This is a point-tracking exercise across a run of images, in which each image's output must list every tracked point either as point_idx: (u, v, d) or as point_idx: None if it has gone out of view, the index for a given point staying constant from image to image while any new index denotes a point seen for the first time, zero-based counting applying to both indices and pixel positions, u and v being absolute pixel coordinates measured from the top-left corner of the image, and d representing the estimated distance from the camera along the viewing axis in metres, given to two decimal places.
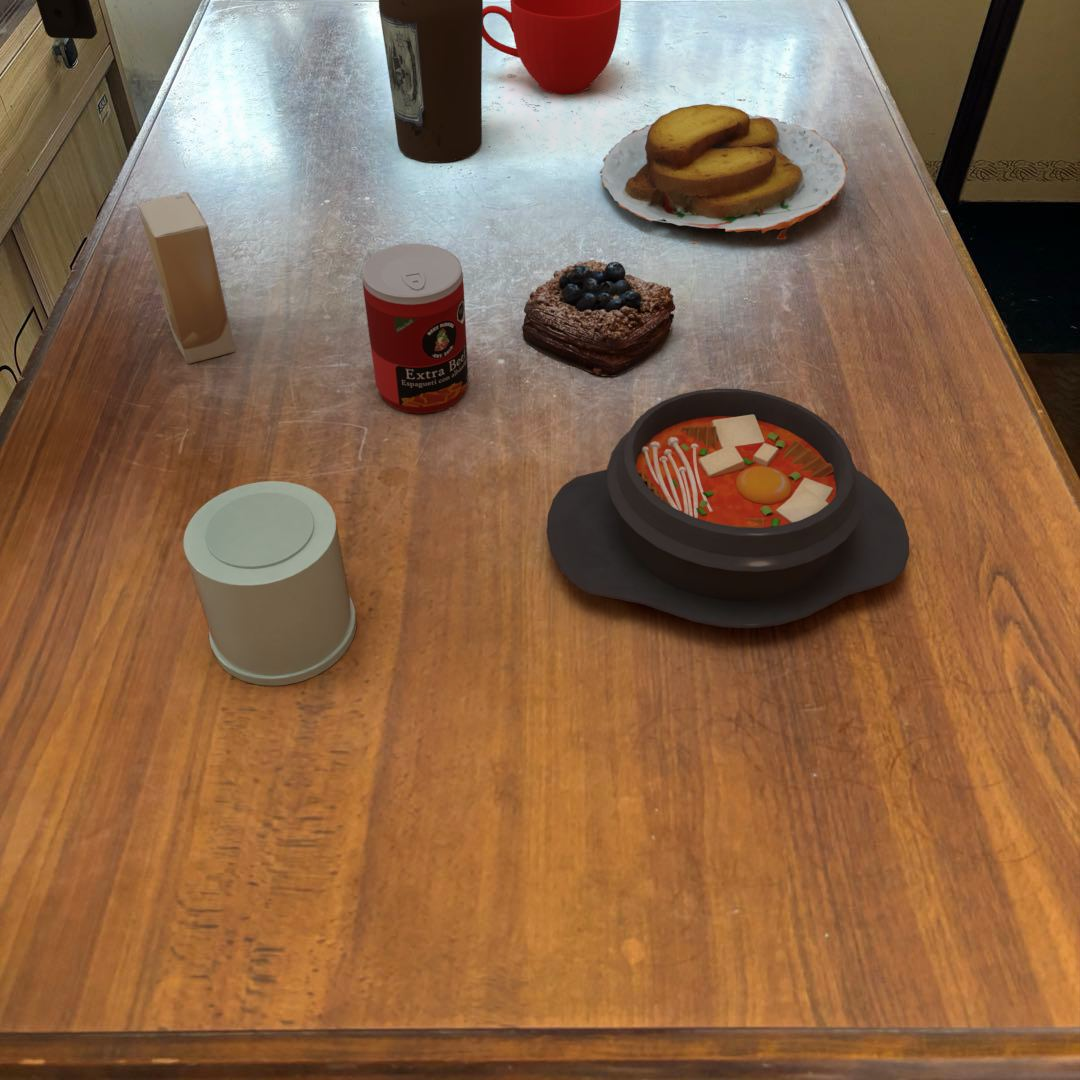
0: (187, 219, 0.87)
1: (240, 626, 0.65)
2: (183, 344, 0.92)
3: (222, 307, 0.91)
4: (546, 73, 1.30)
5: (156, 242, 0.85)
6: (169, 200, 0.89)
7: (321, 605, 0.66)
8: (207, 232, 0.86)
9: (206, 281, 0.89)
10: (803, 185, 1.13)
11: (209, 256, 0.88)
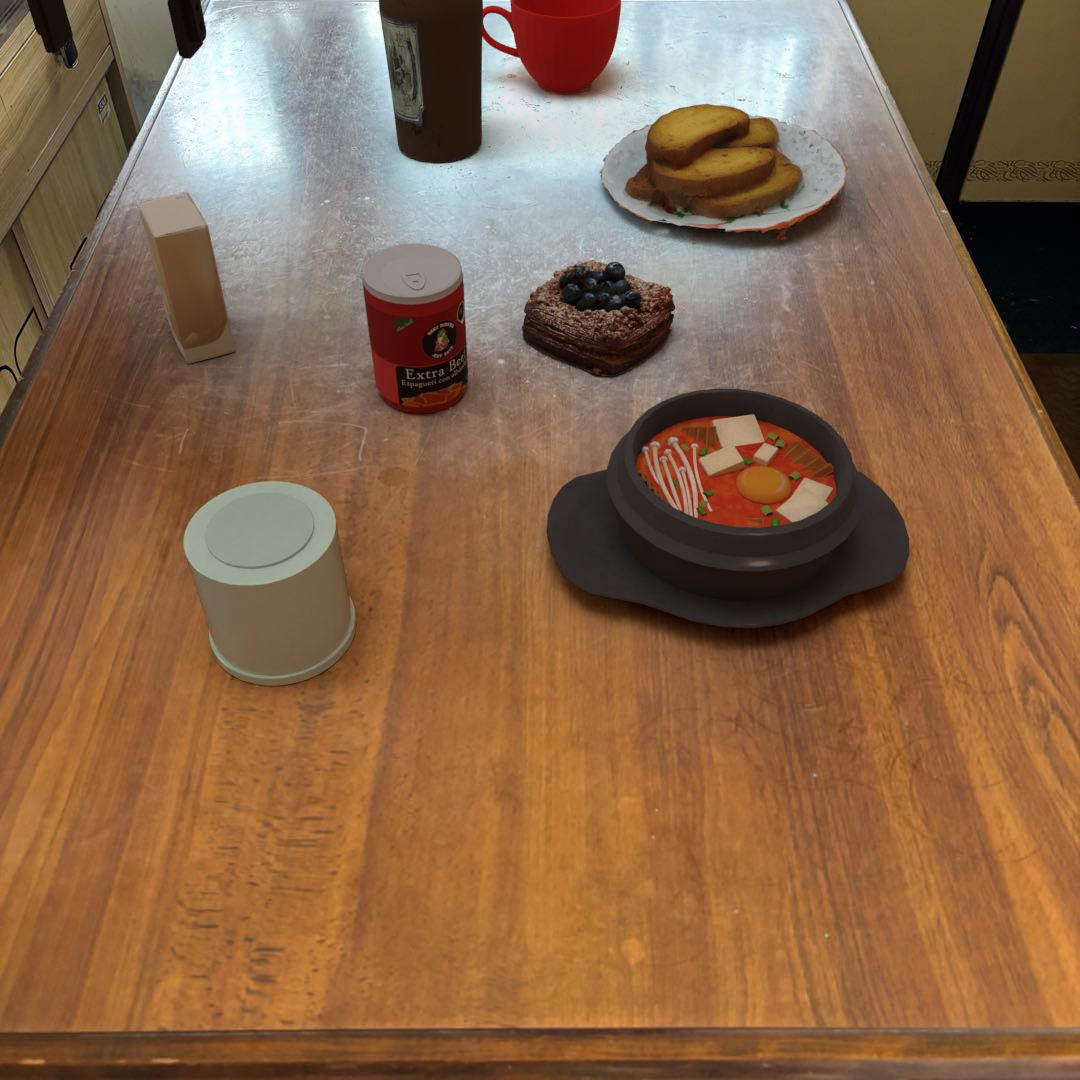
0: (187, 219, 0.87)
1: (240, 626, 0.65)
2: (183, 344, 0.92)
3: (222, 307, 0.91)
4: (546, 73, 1.30)
5: (156, 242, 0.85)
6: (168, 200, 0.89)
7: (321, 605, 0.66)
8: (207, 232, 0.86)
9: (207, 281, 0.89)
10: (803, 185, 1.13)
11: (209, 256, 0.88)
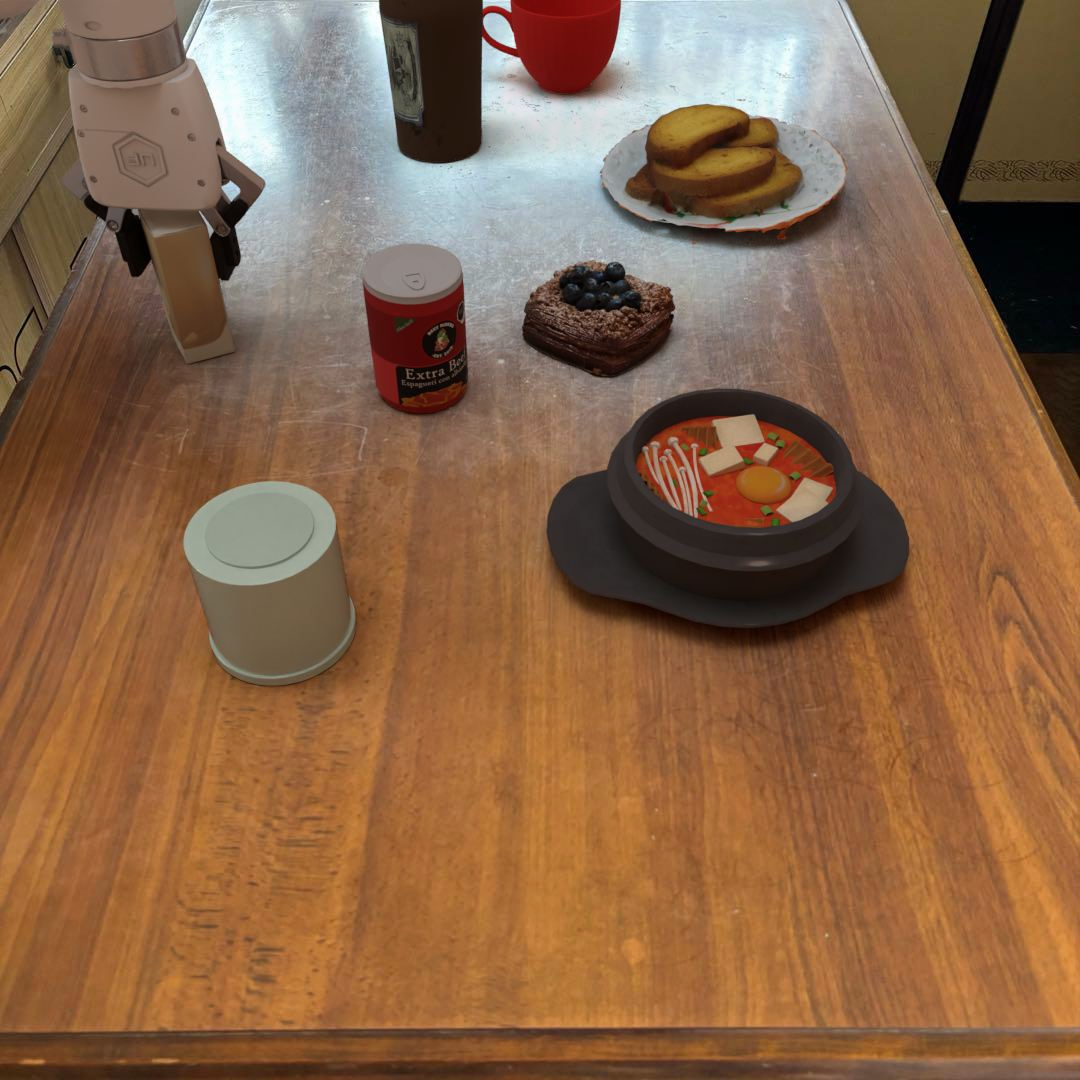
0: (186, 218, 0.87)
1: (240, 626, 0.65)
2: (183, 344, 0.92)
3: (221, 307, 0.91)
4: (546, 73, 1.30)
5: (155, 242, 0.85)
6: None
7: (321, 605, 0.66)
8: (206, 232, 0.86)
9: (206, 281, 0.89)
10: (803, 185, 1.13)
11: (208, 255, 0.88)
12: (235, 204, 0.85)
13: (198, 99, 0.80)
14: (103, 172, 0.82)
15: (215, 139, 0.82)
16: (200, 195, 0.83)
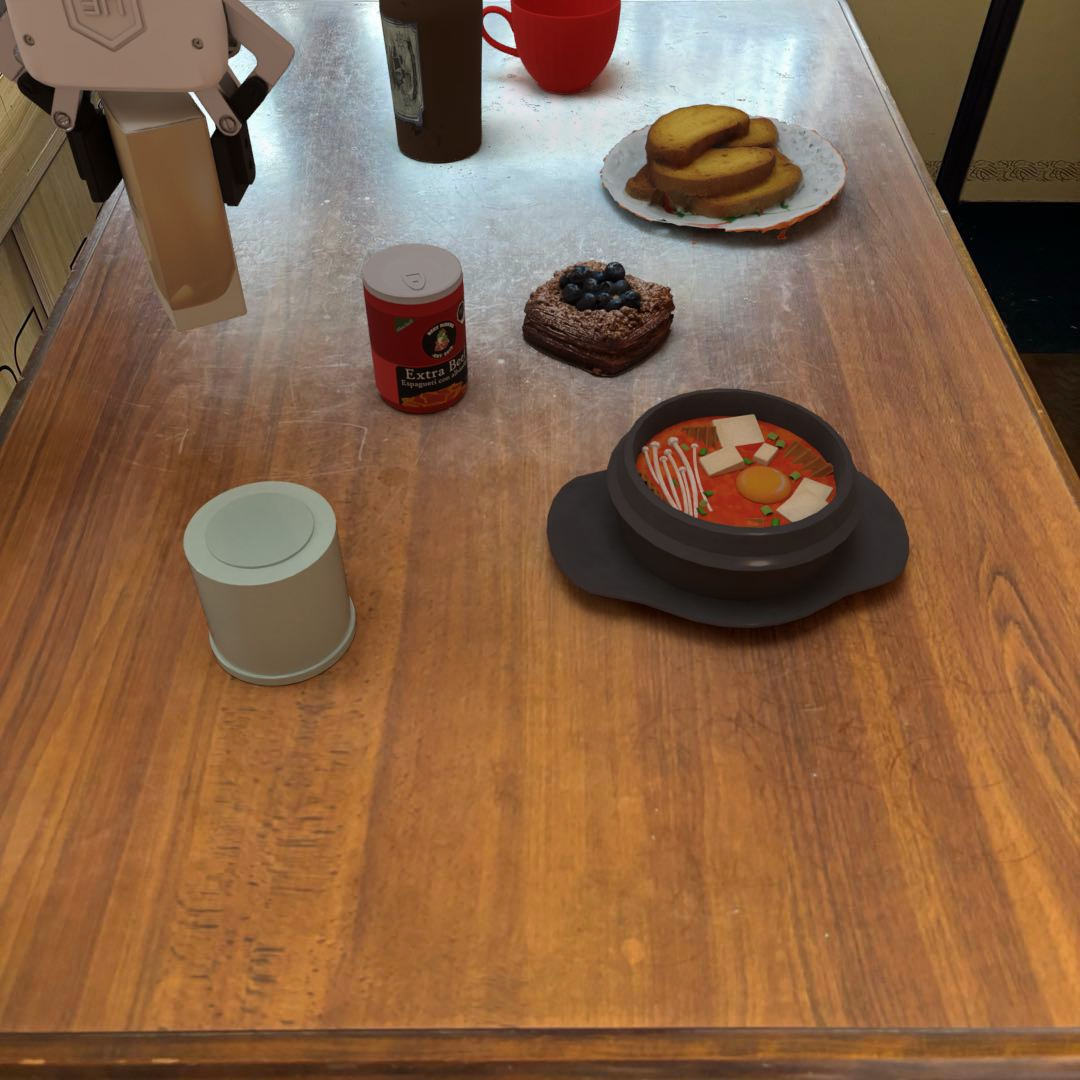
0: (174, 108, 0.57)
1: (240, 626, 0.65)
2: (171, 303, 0.62)
3: (228, 247, 0.62)
4: (546, 73, 1.30)
5: (127, 141, 0.56)
6: None
7: (321, 605, 0.66)
8: (205, 127, 0.57)
9: (205, 206, 0.60)
10: (803, 185, 1.13)
11: (208, 165, 0.58)
12: (249, 83, 0.56)
13: None
14: (43, 28, 0.53)
15: None
16: (196, 64, 0.54)
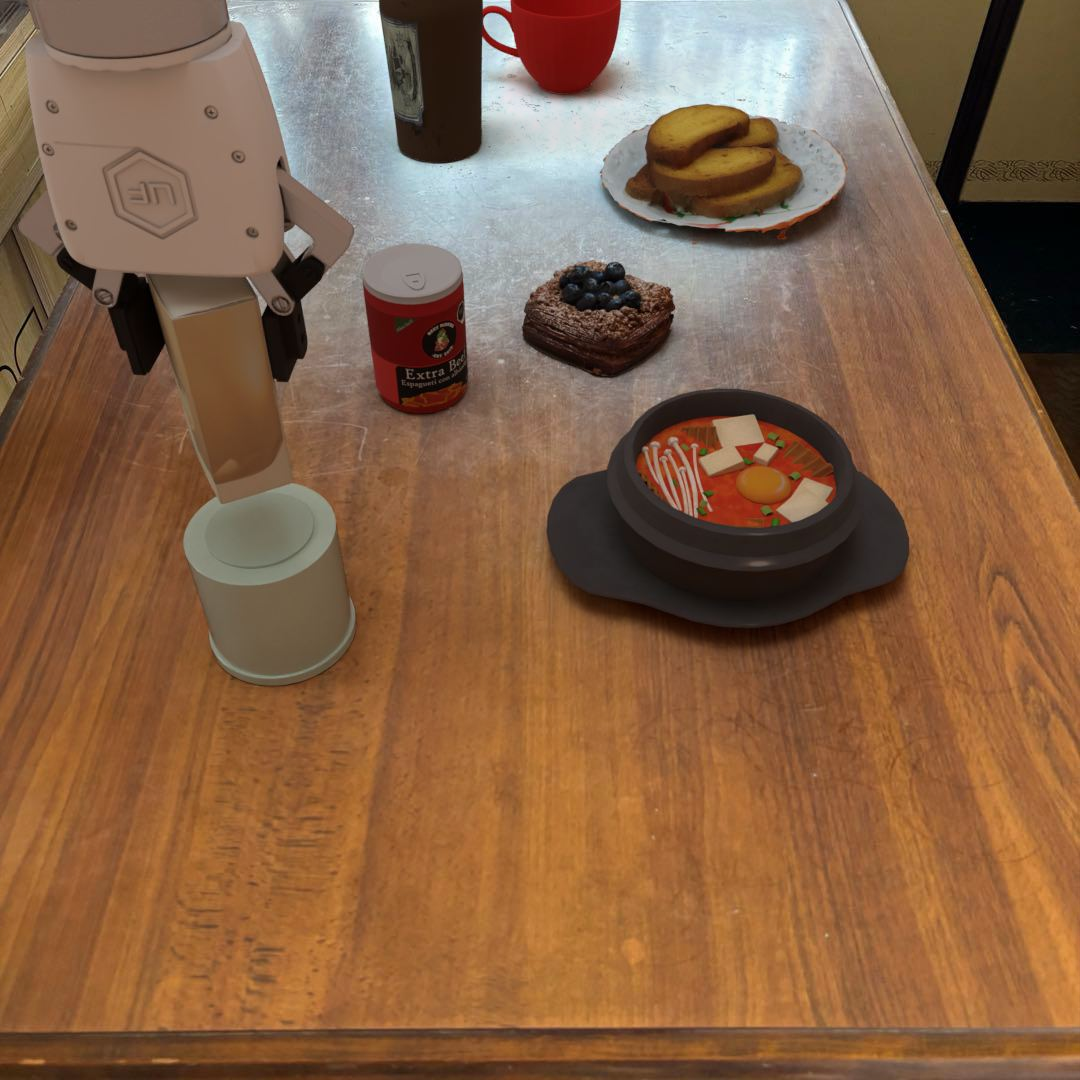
0: (224, 286, 0.53)
1: (240, 626, 0.65)
2: (215, 477, 0.58)
3: (276, 420, 0.58)
4: (546, 73, 1.30)
5: (174, 327, 0.52)
6: None
7: (321, 605, 0.66)
8: (257, 308, 0.53)
9: (254, 383, 0.56)
10: (803, 185, 1.13)
11: (258, 344, 0.54)
12: (305, 265, 0.52)
13: (250, 91, 0.46)
14: (87, 214, 0.49)
15: (276, 159, 0.49)
16: (250, 252, 0.50)
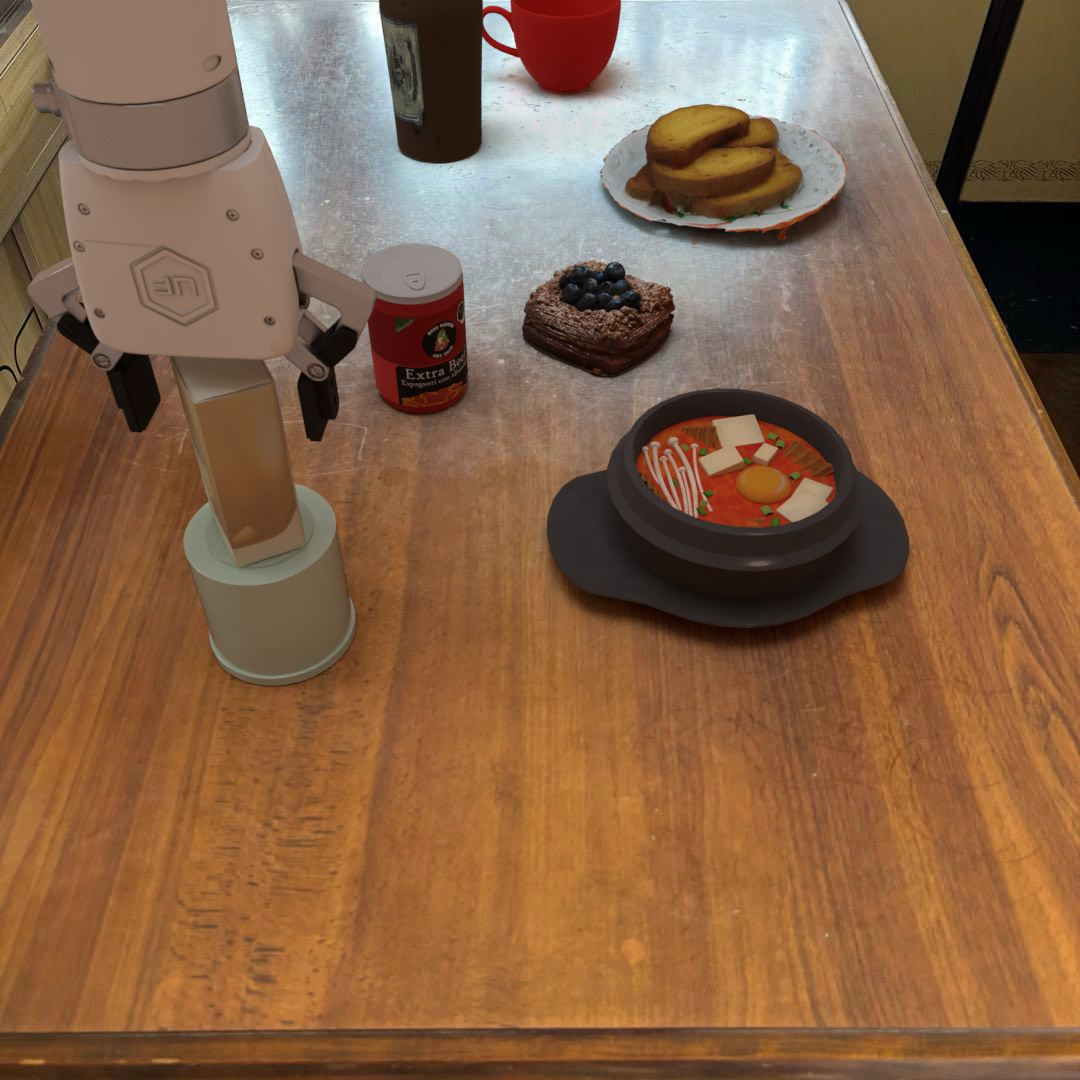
0: (242, 369, 0.57)
1: (240, 626, 0.65)
2: (232, 543, 0.62)
3: (290, 490, 0.61)
4: (546, 73, 1.30)
5: (196, 410, 0.55)
6: None
7: (321, 605, 0.66)
8: (273, 391, 0.56)
9: (270, 458, 0.59)
10: (803, 185, 1.13)
11: (275, 423, 0.58)
12: (339, 334, 0.55)
13: (269, 194, 0.49)
14: (114, 304, 0.52)
15: (292, 252, 0.52)
16: (267, 338, 0.53)
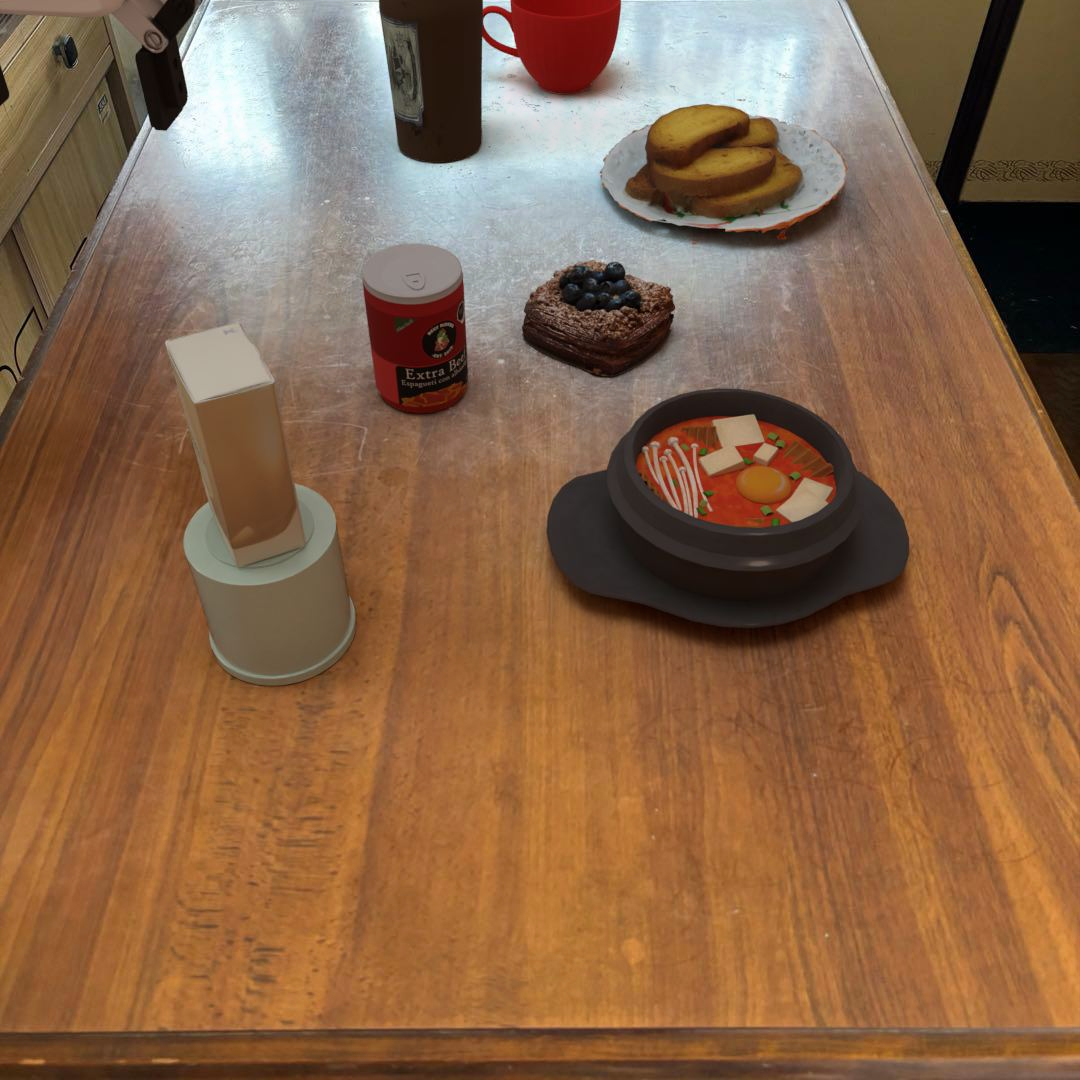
0: (242, 369, 0.57)
1: (240, 626, 0.65)
2: (232, 543, 0.62)
3: (290, 490, 0.61)
4: (546, 73, 1.30)
5: (196, 410, 0.55)
6: (213, 336, 0.59)
7: (321, 605, 0.66)
8: (273, 391, 0.56)
9: (270, 458, 0.59)
10: (803, 185, 1.13)
11: (275, 423, 0.58)
12: None
13: None
14: None
15: None
16: None
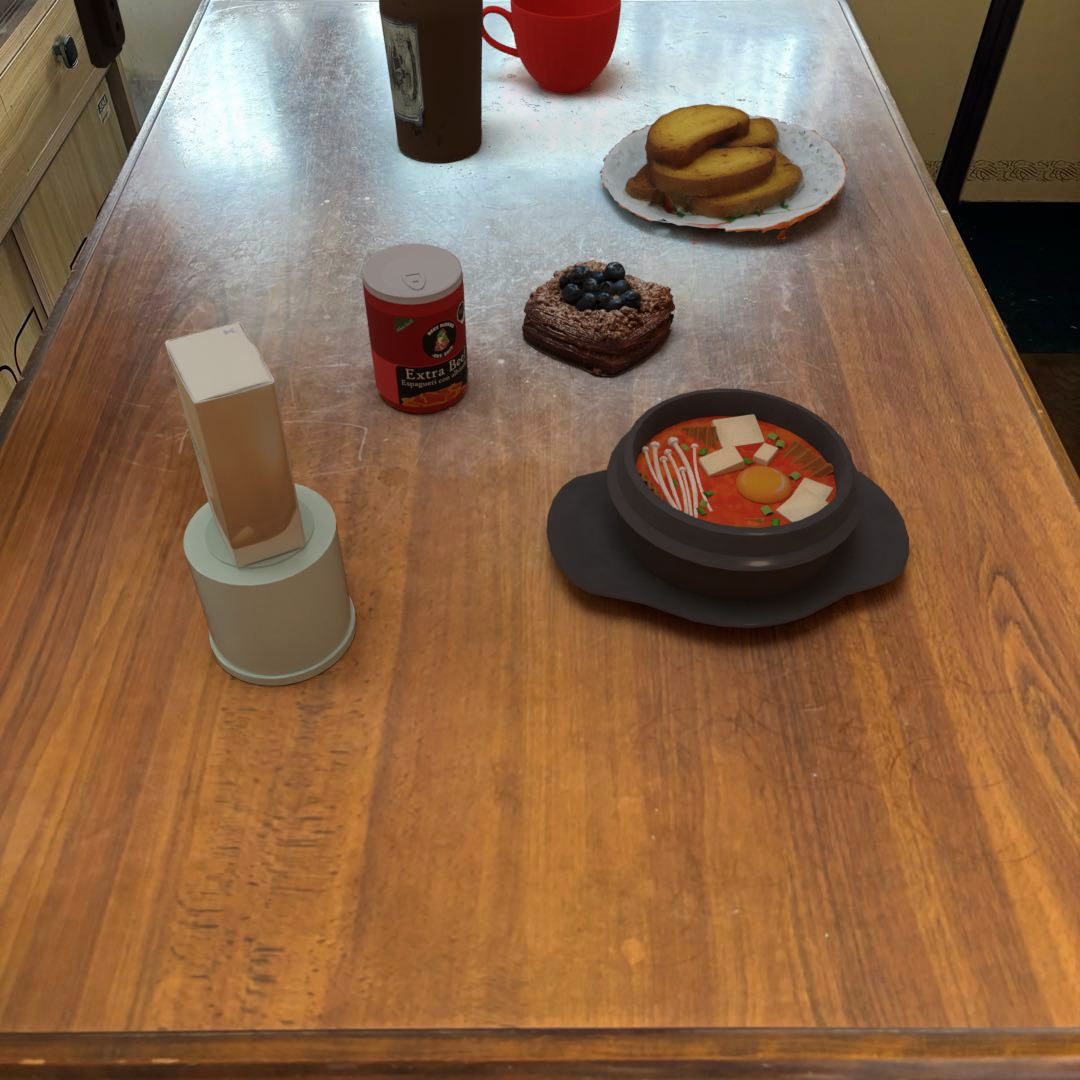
0: (242, 369, 0.57)
1: (240, 626, 0.65)
2: (232, 543, 0.62)
3: (290, 490, 0.61)
4: (546, 73, 1.30)
5: (196, 410, 0.55)
6: (213, 336, 0.59)
7: (321, 605, 0.66)
8: (273, 391, 0.56)
9: (270, 458, 0.59)
10: (803, 185, 1.13)
11: (275, 423, 0.58)
12: None
13: None
14: None
15: None
16: None
